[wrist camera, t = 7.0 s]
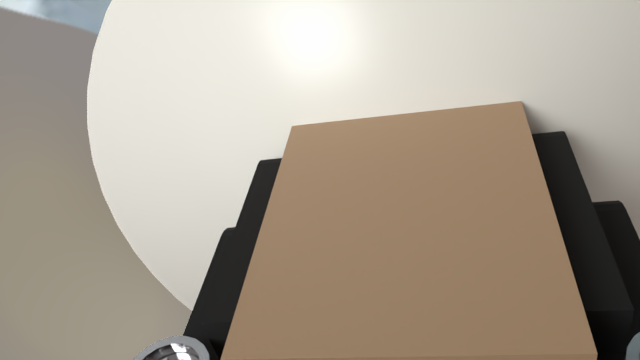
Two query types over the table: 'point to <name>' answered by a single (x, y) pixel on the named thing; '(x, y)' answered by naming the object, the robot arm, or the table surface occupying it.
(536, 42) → the lid
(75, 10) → the table surface
